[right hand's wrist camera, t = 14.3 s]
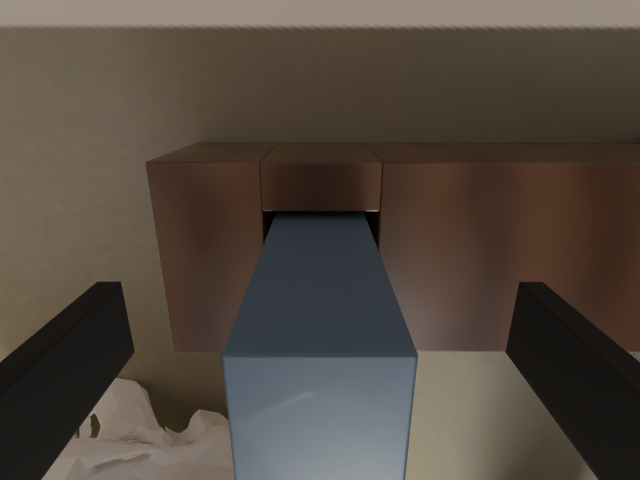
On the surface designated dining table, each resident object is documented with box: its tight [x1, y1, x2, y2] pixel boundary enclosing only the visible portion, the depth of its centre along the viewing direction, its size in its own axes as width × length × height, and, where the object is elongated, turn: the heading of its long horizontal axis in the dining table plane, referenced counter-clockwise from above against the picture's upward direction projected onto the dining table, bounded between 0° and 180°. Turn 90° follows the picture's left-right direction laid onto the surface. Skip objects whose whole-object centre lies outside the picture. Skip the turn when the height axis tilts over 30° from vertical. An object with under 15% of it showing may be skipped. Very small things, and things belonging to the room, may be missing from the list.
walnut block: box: [146, 143, 640, 352], centre depth 20 cm, size 30×9×7 cm, turn 90°
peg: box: [222, 211, 418, 480], centre depth 16 cm, size 4×4×16 cm
